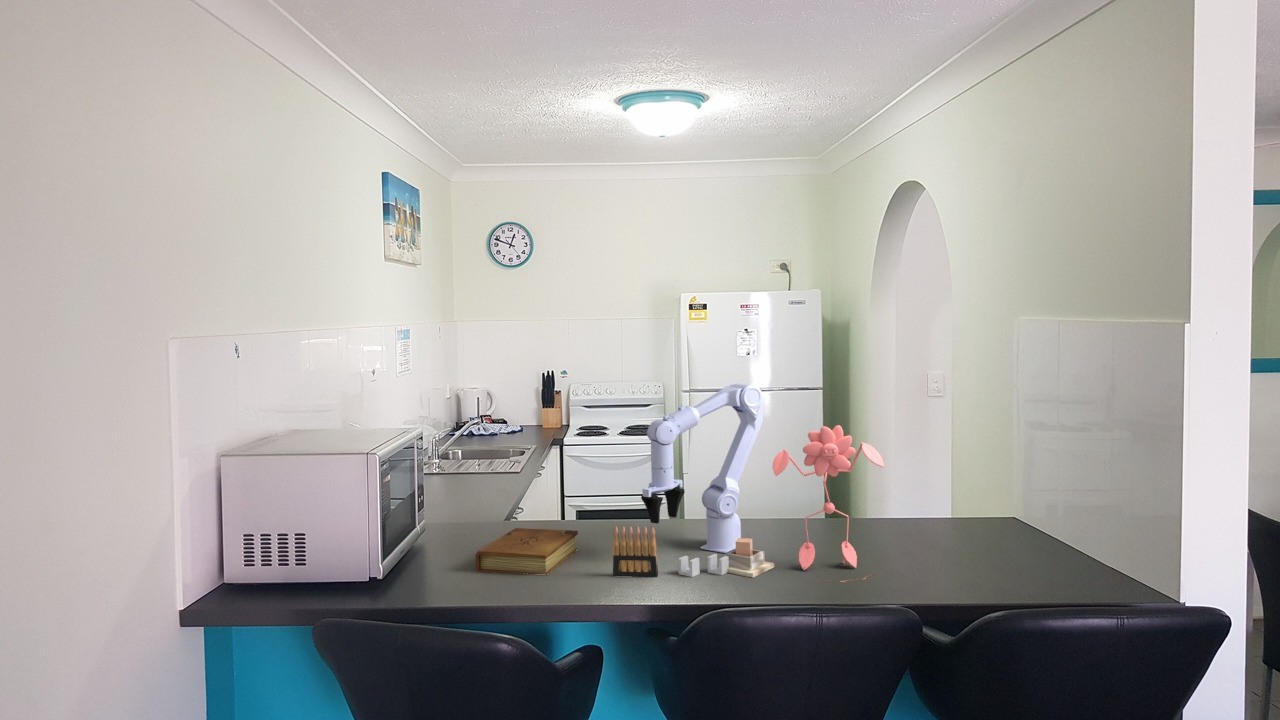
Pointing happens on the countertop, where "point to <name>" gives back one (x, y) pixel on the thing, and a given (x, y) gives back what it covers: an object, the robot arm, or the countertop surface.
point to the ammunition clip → (635, 554)
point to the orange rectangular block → (744, 547)
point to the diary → (527, 551)
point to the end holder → (748, 564)
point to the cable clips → (694, 569)
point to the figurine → (831, 458)
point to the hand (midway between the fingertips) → (663, 519)
